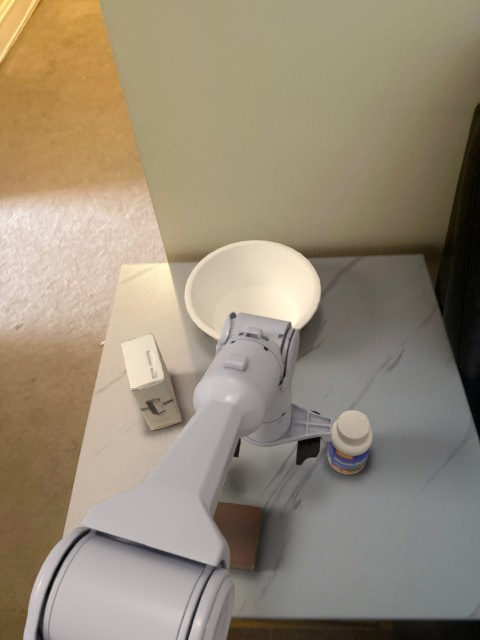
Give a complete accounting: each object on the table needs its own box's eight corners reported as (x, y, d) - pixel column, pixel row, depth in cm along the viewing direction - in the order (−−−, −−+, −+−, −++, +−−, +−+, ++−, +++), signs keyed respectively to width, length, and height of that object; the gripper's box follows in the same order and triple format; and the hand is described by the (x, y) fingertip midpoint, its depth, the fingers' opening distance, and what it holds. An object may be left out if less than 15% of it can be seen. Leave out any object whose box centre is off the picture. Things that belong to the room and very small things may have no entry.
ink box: (138, 384, 87) (119, 340, 77) (169, 375, 88) (154, 330, 78) (149, 433, 82) (130, 392, 72) (182, 422, 82) (168, 380, 73)
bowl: (305, 386, 85) (306, 356, 78) (174, 361, 89) (165, 330, 83) (329, 282, 97) (331, 249, 90) (212, 265, 101) (207, 231, 95)
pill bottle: (329, 476, 76) (334, 446, 68) (324, 439, 79) (328, 406, 71) (370, 474, 76) (379, 443, 68) (363, 437, 79) (371, 403, 71)
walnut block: (254, 571, 69) (253, 565, 67) (199, 563, 70) (195, 556, 68) (262, 515, 73) (261, 507, 71) (209, 508, 74) (207, 500, 72)
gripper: (337, 372, 59) (330, 430, 70) (202, 359, 61) (215, 417, 72) (333, 433, 55) (326, 485, 66) (188, 417, 57) (204, 469, 68)
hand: (267, 453), depth 69 cm, fingers open, 7 cm apart
